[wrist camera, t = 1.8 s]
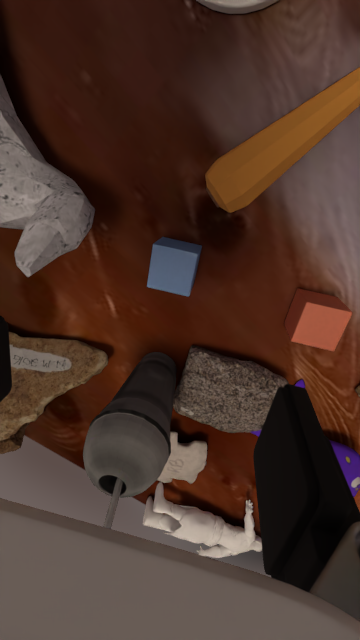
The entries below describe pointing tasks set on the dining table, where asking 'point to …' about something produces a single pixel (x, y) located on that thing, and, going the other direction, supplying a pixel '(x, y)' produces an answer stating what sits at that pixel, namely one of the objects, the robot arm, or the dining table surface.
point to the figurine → (201, 526)
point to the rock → (42, 380)
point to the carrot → (279, 145)
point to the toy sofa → (358, 390)
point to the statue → (37, 197)
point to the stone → (225, 391)
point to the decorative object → (184, 460)
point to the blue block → (173, 266)
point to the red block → (316, 319)
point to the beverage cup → (133, 432)
